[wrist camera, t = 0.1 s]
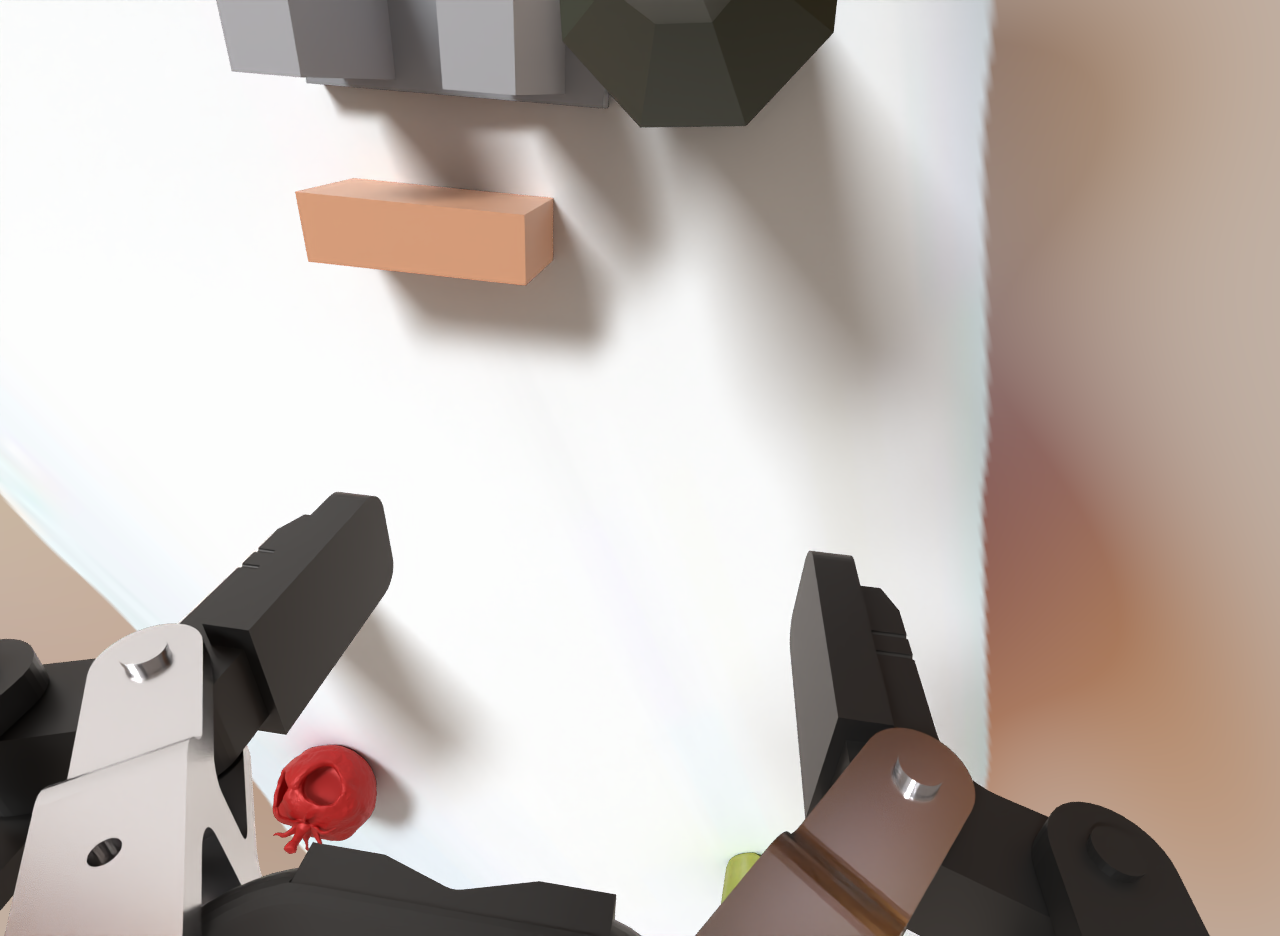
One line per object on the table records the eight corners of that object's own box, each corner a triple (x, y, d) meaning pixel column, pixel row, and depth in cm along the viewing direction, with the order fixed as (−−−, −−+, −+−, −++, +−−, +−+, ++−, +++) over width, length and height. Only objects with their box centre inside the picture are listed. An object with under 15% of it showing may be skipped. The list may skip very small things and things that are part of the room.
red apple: (403, 788, 70) (363, 878, 62) (326, 792, 72) (277, 880, 65) (361, 729, 65) (312, 819, 58) (279, 736, 68) (221, 824, 60)
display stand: (296, -82, 32) (133, -144, 23) (614, -61, 31) (566, -118, 22) (322, 83, 35) (190, 81, 27) (608, 107, 34) (564, 113, 26)
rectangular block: (355, 177, 38) (295, 191, 33) (553, 197, 37) (524, 215, 32) (363, 239, 40) (308, 261, 35) (553, 259, 39) (525, 285, 34)
